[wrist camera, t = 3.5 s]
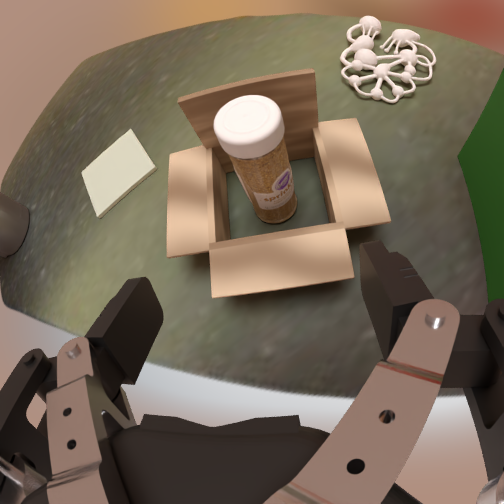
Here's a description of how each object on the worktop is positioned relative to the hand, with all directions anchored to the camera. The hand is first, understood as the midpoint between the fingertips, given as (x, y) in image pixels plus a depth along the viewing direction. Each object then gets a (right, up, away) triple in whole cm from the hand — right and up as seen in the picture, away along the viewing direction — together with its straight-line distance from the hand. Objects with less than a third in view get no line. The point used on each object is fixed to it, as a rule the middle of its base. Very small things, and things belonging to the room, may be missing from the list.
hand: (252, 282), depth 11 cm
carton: (+3, +4, +19) cm, 19 cm away
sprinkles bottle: (+2, +6, +20) cm, 21 cm away
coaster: (-19, +12, +26) cm, 34 cm away
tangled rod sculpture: (+20, +29, +23) cm, 42 cm away
